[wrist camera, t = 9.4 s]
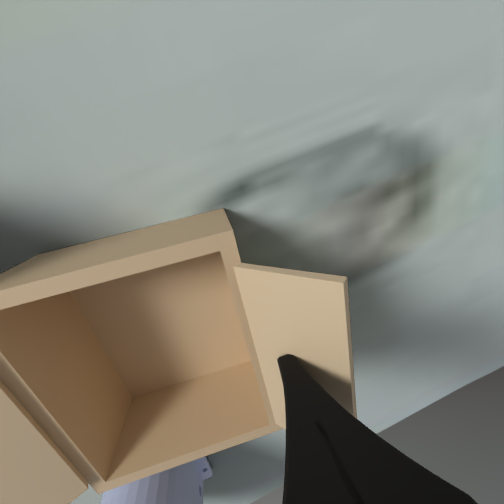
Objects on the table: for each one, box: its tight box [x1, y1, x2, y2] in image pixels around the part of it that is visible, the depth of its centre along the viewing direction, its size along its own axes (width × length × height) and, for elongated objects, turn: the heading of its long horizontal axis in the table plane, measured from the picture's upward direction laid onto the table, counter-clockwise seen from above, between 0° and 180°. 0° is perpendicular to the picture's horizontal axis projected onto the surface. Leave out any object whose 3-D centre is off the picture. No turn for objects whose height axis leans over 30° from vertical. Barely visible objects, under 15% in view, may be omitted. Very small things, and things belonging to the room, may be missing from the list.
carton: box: [0, 208, 283, 494], centre depth 15 cm, size 14×12×6 cm
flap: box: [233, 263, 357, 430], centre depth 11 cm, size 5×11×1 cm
